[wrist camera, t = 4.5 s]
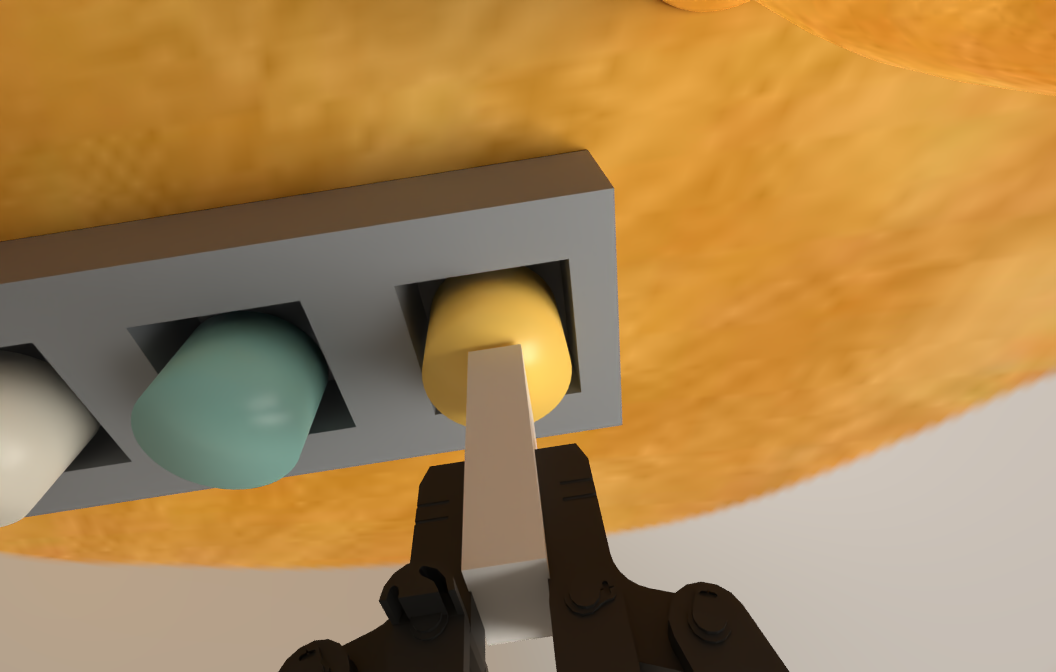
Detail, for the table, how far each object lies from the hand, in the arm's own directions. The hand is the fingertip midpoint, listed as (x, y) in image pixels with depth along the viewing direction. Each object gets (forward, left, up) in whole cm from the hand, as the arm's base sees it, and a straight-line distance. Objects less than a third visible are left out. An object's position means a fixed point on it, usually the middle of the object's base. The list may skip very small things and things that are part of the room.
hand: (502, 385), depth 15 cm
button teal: (-8, 0, -3) cm, 9 cm away
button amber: (0, 0, -4) cm, 4 cm away
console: (-8, 0, -6) cm, 10 cm away
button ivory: (-16, 0, -3) cm, 16 cm away
